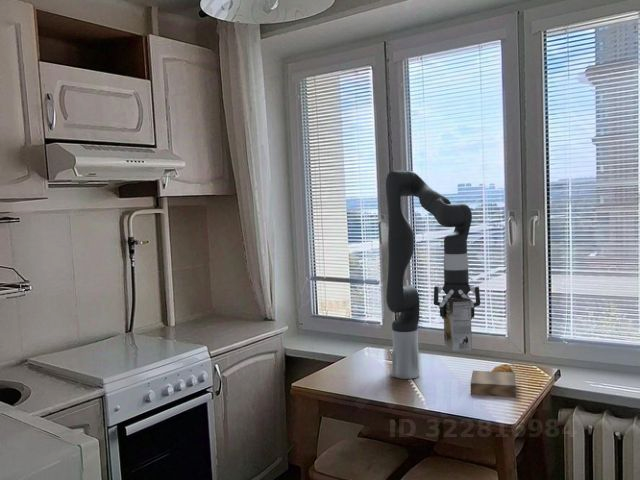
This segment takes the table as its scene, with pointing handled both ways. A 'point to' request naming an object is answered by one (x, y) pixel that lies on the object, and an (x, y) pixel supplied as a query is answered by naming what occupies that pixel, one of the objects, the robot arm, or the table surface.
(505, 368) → the pastry
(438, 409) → the table surface
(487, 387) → the plinth
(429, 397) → the table surface
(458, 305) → the coffee box
